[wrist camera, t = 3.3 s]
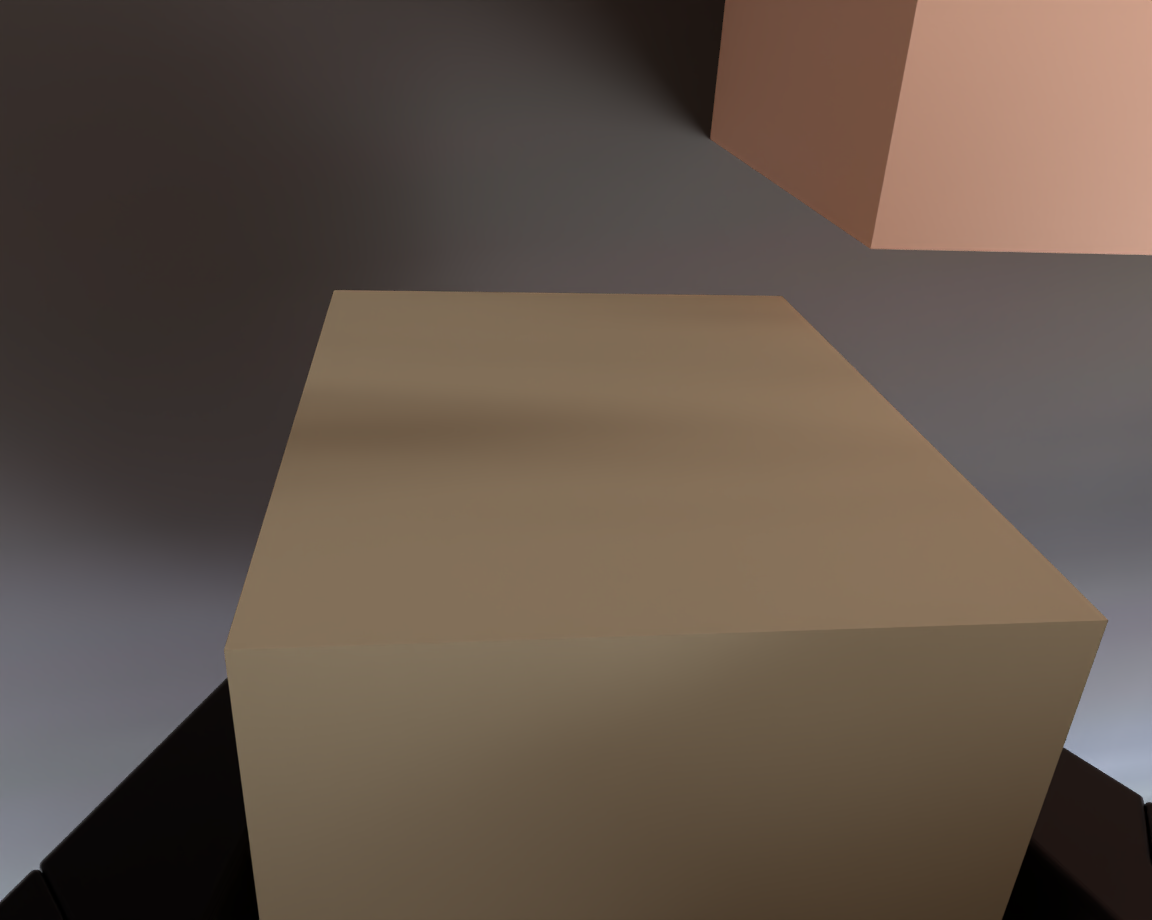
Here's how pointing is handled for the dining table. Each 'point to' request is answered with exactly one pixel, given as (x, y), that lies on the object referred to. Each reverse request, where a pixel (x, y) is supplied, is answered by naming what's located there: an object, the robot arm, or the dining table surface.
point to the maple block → (634, 628)
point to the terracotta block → (949, 118)
